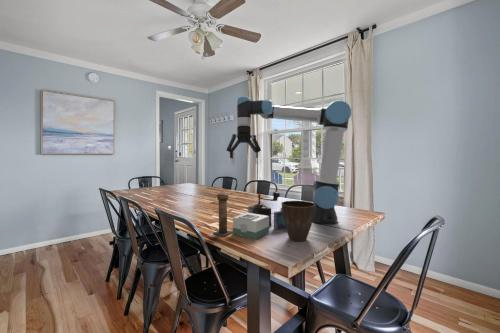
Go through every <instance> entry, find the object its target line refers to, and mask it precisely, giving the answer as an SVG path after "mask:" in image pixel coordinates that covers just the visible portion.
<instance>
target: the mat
mask: <svg viewBox="0 0 500 333" xmlns="http://www.w3.org/2000/svg"><path fill="white" fill-rule="evenodd" d="M231 234H233V230H232V231H231V230H228V229H227V233H224V234H221V233H219V230H217V231H214V232H212V235H215V236H219V237H222V238H223V237H227V236H229V235H231Z"/></svg>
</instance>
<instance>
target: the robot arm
mask: <svg viewBox="0 0 500 333" xmlns="http://www.w3.org/2000/svg"><path fill="white" fill-rule="evenodd" d="M236 102H237V103H236V112H237V115H236V117H237V118H236V124H237V128H236V132H237V133H234V134H231V140H230V141H229V144H228V145H227V148H226V152H228V153H229V158H230V160H231V161H230V164H231V165H235V164H236V162H235V161H236V160H235V159H236V158H235V157H236V155H235V150H236V149H237V147H238V146H239V145H240V144H241V143H242V144H243V143H245V144H246V143H247V144H248V146H249V147H250V149H252V150H253V152H252V153H253V154H252V163H253V165H257V162H258V160H257V159H258V158H259V155H258V154H259V153H260V152H261V151H262V149H261V147H260V143H259V142H258V140H257V136H256V135H255V134H252V133H251V132H252V131H251V130H252V129H251V128H252V127H251V125H252V122H251V121H252V118H251V116H256V115H257V116H260V117H261V118H263V119H266V120H268V119H273V120H274V119H276V120H283V121H284V120H286V121H293V122H306V123H315V124H317V125H318V126H323V127H322V128H323V129H324V131H325V135H324V142H323V143H324V144H323V149H322V157H321V163H320V171H319V177H318V178H316V180H314V181H313V184H312V186H313V190H312V191H313V193H312V198H313V199H312V200H313V201H312V203H314V204H315V211H314V216H313V221H312V223H313V222H314V223H316V224H323V225H331V224H336V223H338V215H337V212H336V209H335V207H336V205H337V204H338V202H339V199H340V198H339V191H340V190H339V189H340V182H339V181H338V175H339V174H338V173H339V167H340V161H341V153H342V146H343V140H344V139H343V138H344V133H346V131H348V127H349V121H350V120H349V119H350V118H351V116H352V109H351V106H350V104H348V103H347V101H344V100H340V99H339V100H335V101H332V102H331V103H329V104H328V105H327V106H326V107H320V108H307V107H297V106H296V107H295V106H283V105H274V104H273V101H272V100H271V99H264V100H263V99H261V100H260V99H259V100H252V99H251V97H249V96H240V97H238V98H237V101H236ZM251 134H252V135H251ZM236 138H237V140H236ZM235 140H236V142H235ZM234 142H235V143H234Z"/></svg>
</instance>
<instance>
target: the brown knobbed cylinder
mask: <svg viewBox="0 0 500 333" xmlns="http://www.w3.org/2000/svg"><path fill="white" fill-rule="evenodd" d="M216 197H217V201H218V231H219V233H221V234H224V233H227V230H228V201H229V193H226V192H225V193H223V192H222V193H217V194H216Z"/></svg>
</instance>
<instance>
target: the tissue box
mask: <svg viewBox="0 0 500 333" xmlns="http://www.w3.org/2000/svg"><path fill="white" fill-rule="evenodd" d="M232 231H233V233H232V234H233V235H236V236H240V237H244V238H249V239H253V240H257V239H260V238H261V237H263V236H264V235H266V234H268V233H270V226H269V216H266V215H260V214H253V213H248V212H246V213H242V214H239V215H236V216H234V217H232Z"/></svg>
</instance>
